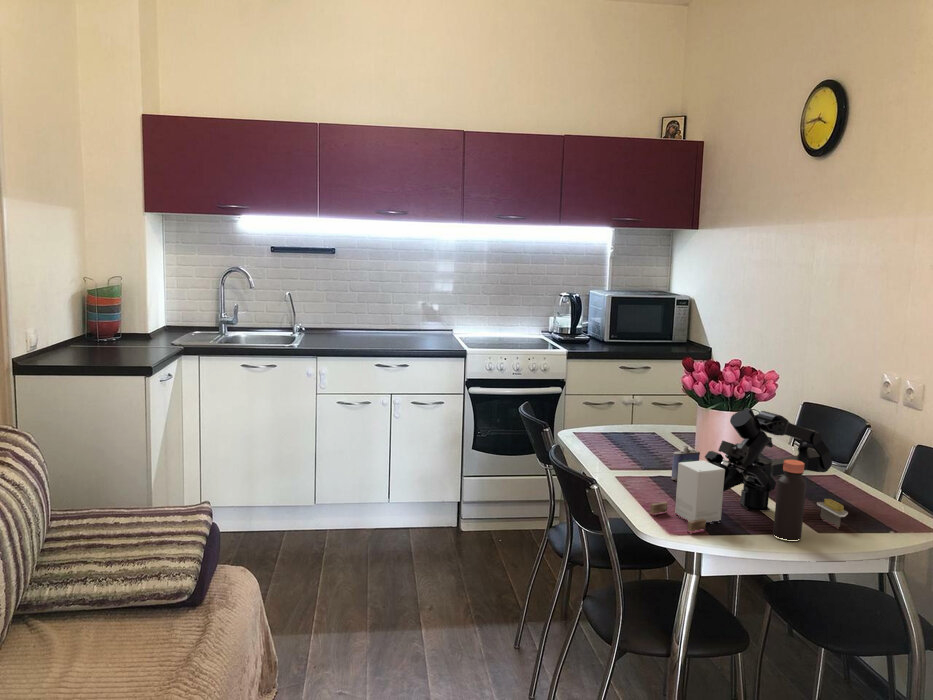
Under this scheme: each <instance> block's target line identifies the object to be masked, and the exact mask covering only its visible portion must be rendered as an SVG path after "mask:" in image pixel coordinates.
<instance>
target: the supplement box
mask: <svg viewBox="0 0 933 700" xmlns="http://www.w3.org/2000/svg"><path fill="white" fill-rule="evenodd" d="M724 476H725V469H723V468H721V467H718V466H716V465H713V464H711V463H709V462H708V461H707V460H699V461H692V462H681V463H678V478H677V481H676V491H675V493H676V496H675V509H674V510H675V512H674V514H675V513H677V514H678V515H680V516H681V517H683V518H685V519H687V520H688V521H693V520H698V519H704V520H706V522H712V521H719V520H721V519H722V511H723V510H722V509H723V498H724V492H723V487H724ZM721 521H722V520H721Z"/></svg>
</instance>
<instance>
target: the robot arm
mask: <svg viewBox="0 0 933 700" xmlns="http://www.w3.org/2000/svg"><path fill="white" fill-rule="evenodd" d="M729 422H730V424H731V426H732V427H733V429H734V431H736V433H737V435H738V436H739V437H740V438H741V439H743V440H742V441H741V442H740V443H739V442H737V443H732V442H729V441H726V440H724V439H723V440H722V441H721V443H720V445H719V448H718V452H716V451H713V450H709V451H707V453H706V454H705V455H704V459H706V460H705V461H707V462H709V463H711V464H713V465H716V466H718V467H721V468H723V469H725V476H724V487H723V493H724V492H726V491H728V490H730V489H732V488H734V487H737V486H739V485H741V484H743V489H741V492H740V494H741V495H740V501H739V504H740V503H741V504H742V505H743V507H744V508H745V509H746V508H747V509H748V510H747V509H746V510H747V511H749V510H770V511H771V508H770V507H769V496H770V492H772V491H774V490H775V488H776V485H777V481H776V480H775V479H774V477H781V476H782V475H784V471H783V464H784V461H785V460H798V461H801V462H803V463H804V464H805V465H804V472H805V471H807V472H814V473H815V472H816V473H826V472H828V471H829V470H830V469H831V468H832V465H833V459H832V455H831V452H830V449H829V448H828V446H827V445H826V443H825V442H824V441H823V439H822V436H821V433H820V432H818V431H817V430H814V429H809V428H805V427H802V426H800V425H797V424H794V423H791V422H789V419H787V418H786V417H784V416H783V415H780V414H777V413H773V412H770V411H765V410H761V411H760V412H758V414H755V413H754V411H753V410H752V409H751V408H748V407H745V408H744V409H743V410H739V411H737V412H735V413H734V414H732V415H731V417H730V420H729ZM767 433H768V434H771V435H773V436H781V437H782V436H788V437H791V438H794V439H797V440H799V445H798V448H797V451H798V454H797V455H793V456H788V457H782V458H777V459H772V460H770V459H767V458H764V457H761V456H760V455H761V454H762V453H763V451H764V450H765V448H766V447H767V448H768V447H769V448H773V438H772V437H770V436H768V434H767ZM808 444H810V445H812V447H813V448H811V447H808ZM719 452H720V453H719ZM721 453H723V454H725V455H724V456H725V458H724V456H723V455H722V454H721ZM741 504H740V505H741ZM742 505H741V506H742Z"/></svg>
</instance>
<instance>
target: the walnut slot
mask: <svg viewBox="0 0 933 700" xmlns="http://www.w3.org/2000/svg"><path fill="white" fill-rule="evenodd" d="M668 503H669V502H666V501H660V502H654V503H650V512H649V514H650V513H652V514H654V513H659V512H665V511H667V512H668V506H669V504H668ZM706 525H707V524H706V520H704V519H698V520H693V521H688V522H687V530H689V531H695V530H700V529H705V530H706Z"/></svg>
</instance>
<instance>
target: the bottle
mask: <svg viewBox="0 0 933 700" xmlns="http://www.w3.org/2000/svg"><path fill="white" fill-rule="evenodd" d="M804 465H805V464H804V463H803V462H801V461H798V460H785V461H784V464H783V471H784V475H780V476H779V478H778V480H777V487H776V488H777V489H776V498H775V499H776V500H775V508H774V517H773V519H774V520H773V530H772V535H773V534H774V535H775V536H777V537H779V538H783V539H787V540H798V539H800V538H801V539H802V532H803V531H802V530H803V521H804V512H805V502H806V494H807V493H806V491H807V481H806V480H805V479H804V477H803V475H804V472H805V471H804ZM774 535H773V536H774ZM801 539H800V540H801Z"/></svg>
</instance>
